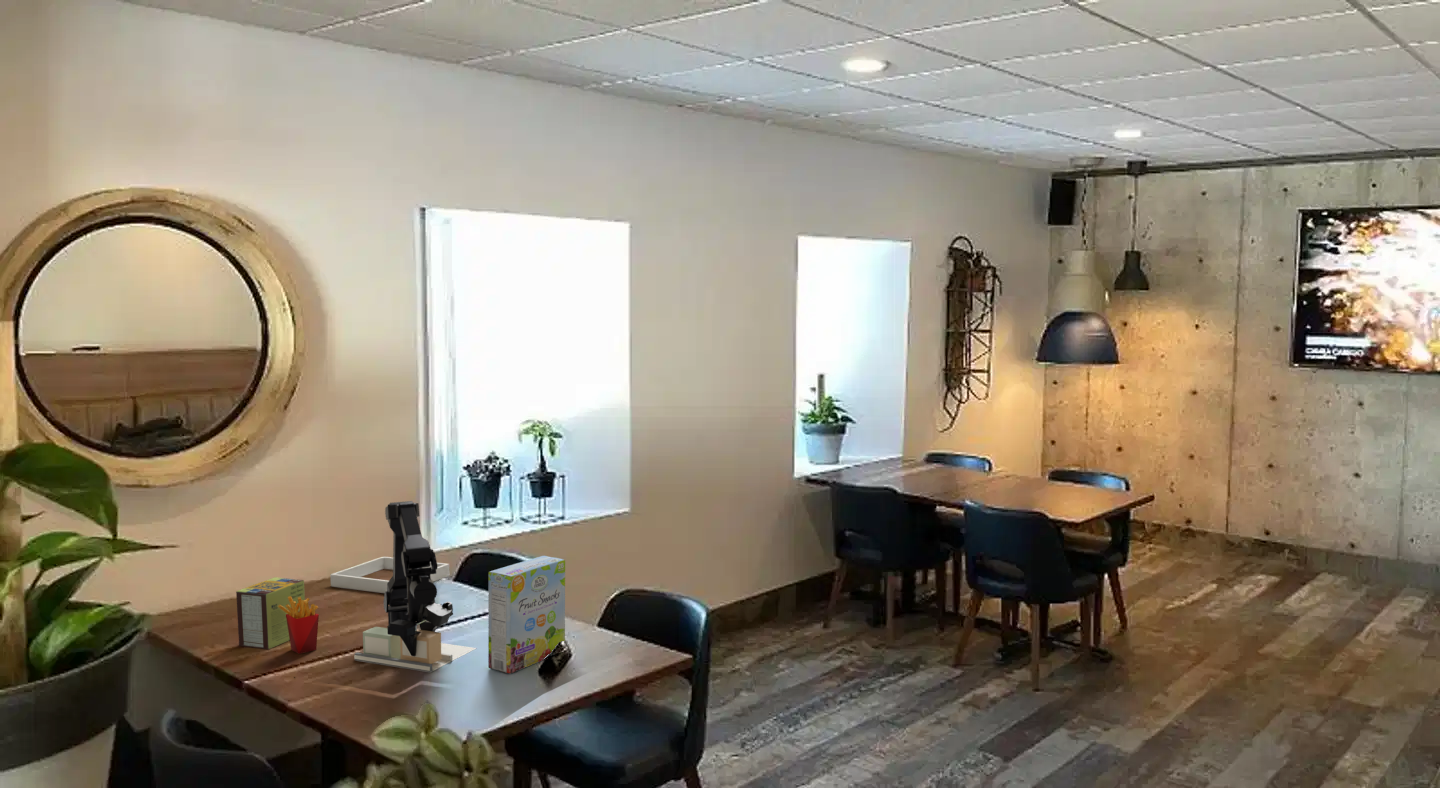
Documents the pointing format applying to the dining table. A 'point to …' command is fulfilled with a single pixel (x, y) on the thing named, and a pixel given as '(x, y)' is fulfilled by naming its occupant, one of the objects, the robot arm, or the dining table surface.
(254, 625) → the protein box
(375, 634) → the sage tea box
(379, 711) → the dining table surface
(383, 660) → the shelf
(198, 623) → the dining table surface
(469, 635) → the dining table surface
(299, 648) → the french fries
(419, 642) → the ochre tea box
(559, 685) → the dining table surface
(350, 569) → the serving tray rim
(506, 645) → the snack box
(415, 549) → the robot arm
